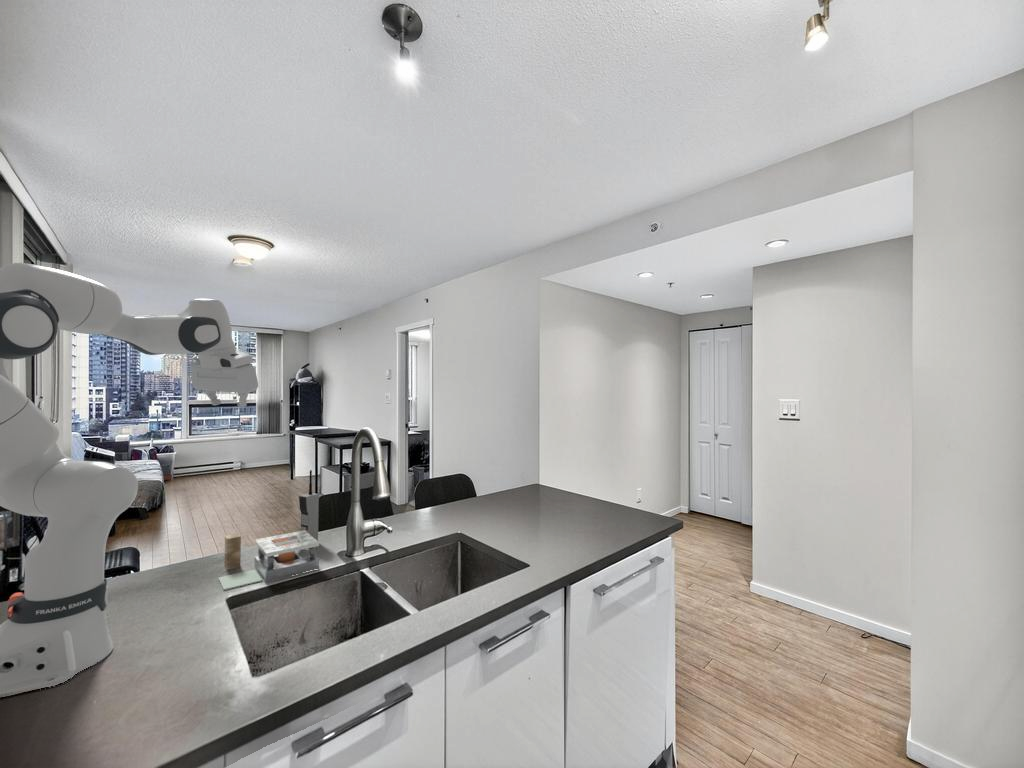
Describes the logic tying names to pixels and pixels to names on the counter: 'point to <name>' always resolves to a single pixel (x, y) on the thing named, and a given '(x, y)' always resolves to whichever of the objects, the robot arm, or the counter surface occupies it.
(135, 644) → the counter surface
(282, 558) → the breaker button
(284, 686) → the counter surface
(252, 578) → the sage mat
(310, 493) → the vintage mobile phone
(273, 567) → the grey box with top
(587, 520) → the counter surface
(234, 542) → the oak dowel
